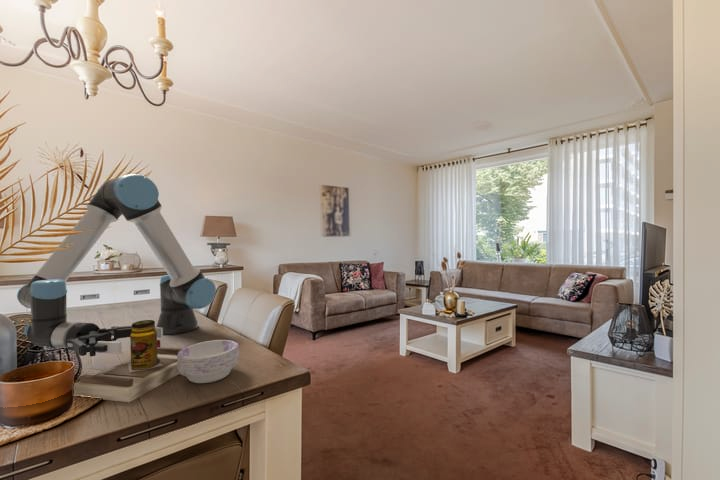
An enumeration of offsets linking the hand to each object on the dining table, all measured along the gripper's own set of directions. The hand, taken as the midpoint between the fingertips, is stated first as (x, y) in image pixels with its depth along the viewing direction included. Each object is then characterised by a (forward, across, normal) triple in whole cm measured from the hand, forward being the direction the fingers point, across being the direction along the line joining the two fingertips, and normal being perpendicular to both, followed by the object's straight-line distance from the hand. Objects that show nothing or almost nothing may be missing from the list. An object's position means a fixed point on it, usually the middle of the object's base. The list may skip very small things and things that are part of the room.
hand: (142, 339), depth 90 cm
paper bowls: (+17, -4, -11) cm, 21 cm away
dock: (0, 0, -10) cm, 10 cm away
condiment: (0, -1, -7) cm, 7 cm away
